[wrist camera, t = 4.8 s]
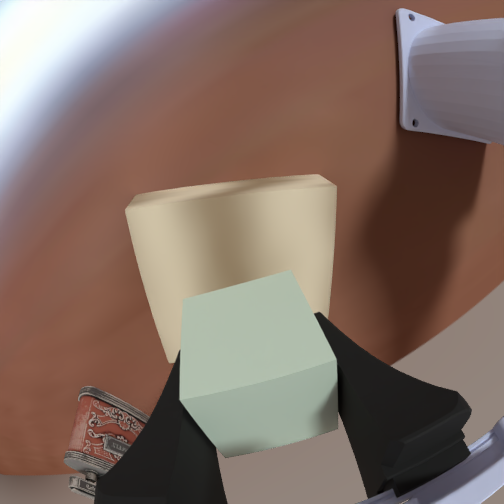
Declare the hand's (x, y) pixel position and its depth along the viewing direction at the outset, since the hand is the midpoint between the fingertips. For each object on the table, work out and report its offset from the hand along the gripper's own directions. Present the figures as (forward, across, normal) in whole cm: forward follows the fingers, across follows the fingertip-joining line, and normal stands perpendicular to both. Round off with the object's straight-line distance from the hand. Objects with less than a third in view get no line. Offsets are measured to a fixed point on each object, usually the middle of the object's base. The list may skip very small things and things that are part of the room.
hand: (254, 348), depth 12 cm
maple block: (+8, 0, 0) cm, 8 cm away
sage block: (+1, 0, 0) cm, 1 cm away
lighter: (+7, +14, +12) cm, 20 cm away
